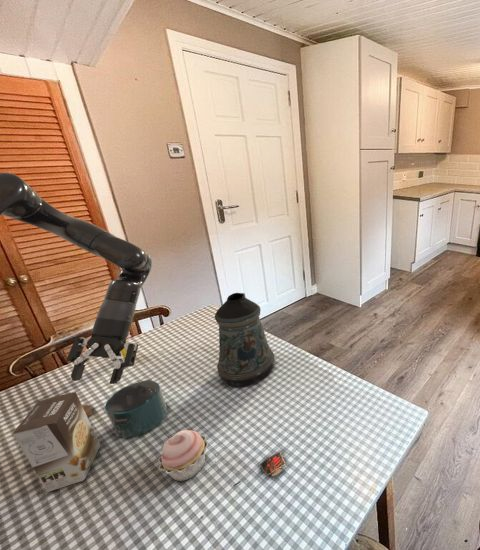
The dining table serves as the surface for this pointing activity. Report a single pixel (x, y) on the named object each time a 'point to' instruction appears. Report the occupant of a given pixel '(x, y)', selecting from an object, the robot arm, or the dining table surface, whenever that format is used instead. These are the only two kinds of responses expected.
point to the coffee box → (58, 441)
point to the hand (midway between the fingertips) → (94, 382)
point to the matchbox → (273, 464)
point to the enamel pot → (136, 408)
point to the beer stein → (242, 343)
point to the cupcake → (183, 455)
